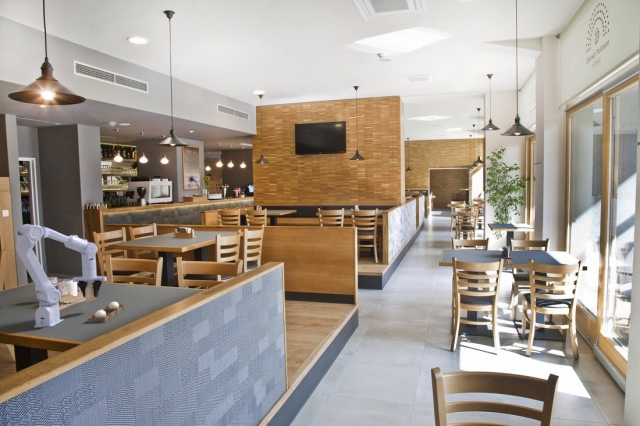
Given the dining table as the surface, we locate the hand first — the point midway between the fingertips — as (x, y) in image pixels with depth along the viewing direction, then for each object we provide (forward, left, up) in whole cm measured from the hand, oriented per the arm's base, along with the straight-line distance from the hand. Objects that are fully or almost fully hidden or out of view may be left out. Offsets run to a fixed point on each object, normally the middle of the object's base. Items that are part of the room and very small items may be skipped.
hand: (90, 296), depth 205 cm
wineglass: (+26, +33, -8) cm, 43 cm away
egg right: (+1, -10, -7) cm, 12 cm away
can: (+22, +21, -8) cm, 31 cm away
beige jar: (0, 0, -2) cm, 2 cm away
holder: (-6, -10, -8) cm, 14 cm away
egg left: (-13, -10, -7) cm, 18 cm away
